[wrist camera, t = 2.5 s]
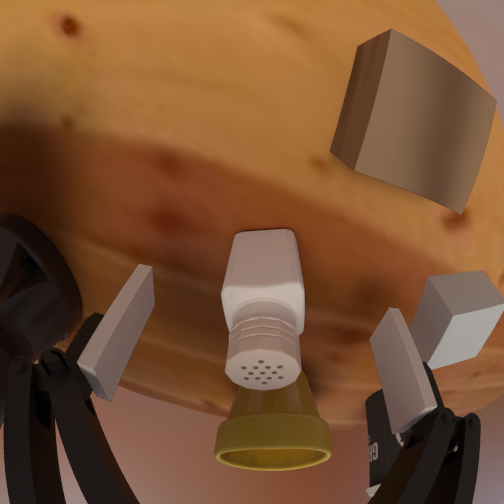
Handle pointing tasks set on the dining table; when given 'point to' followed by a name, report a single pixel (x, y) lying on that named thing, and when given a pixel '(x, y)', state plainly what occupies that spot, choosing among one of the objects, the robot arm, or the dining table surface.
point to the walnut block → (414, 120)
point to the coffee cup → (381, 440)
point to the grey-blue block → (455, 317)
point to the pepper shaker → (264, 309)
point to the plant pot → (274, 429)
